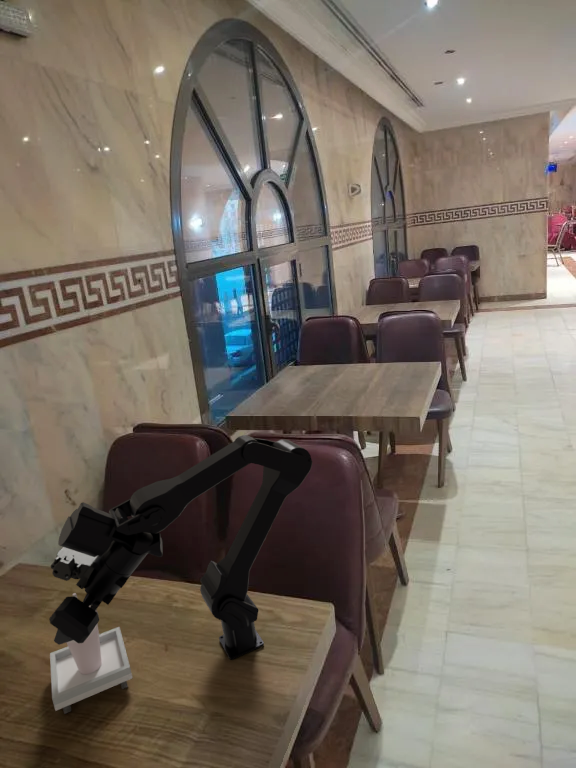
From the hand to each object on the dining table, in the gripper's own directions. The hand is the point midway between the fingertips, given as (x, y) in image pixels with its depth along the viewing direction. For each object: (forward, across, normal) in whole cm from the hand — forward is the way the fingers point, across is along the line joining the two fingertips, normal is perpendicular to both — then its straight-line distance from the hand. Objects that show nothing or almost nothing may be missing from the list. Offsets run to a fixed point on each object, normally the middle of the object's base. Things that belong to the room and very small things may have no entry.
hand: (71, 623), depth 90 cm
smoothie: (+5, 0, +7) cm, 9 cm away
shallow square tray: (+7, 0, +9) cm, 12 cm away
